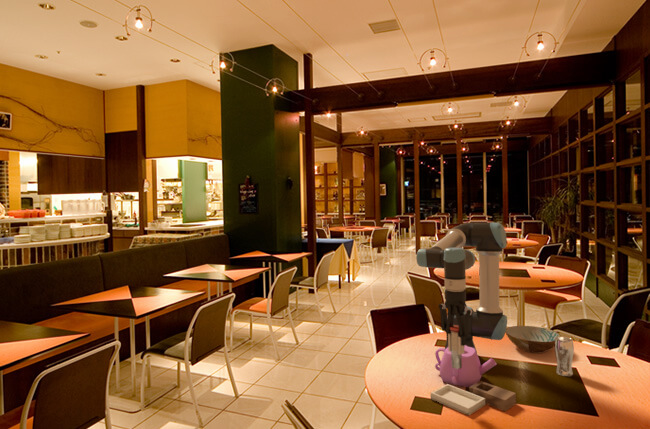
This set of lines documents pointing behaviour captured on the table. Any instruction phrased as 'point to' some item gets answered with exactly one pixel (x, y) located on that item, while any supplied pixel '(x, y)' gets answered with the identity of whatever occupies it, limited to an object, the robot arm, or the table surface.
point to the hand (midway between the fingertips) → (456, 351)
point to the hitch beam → (494, 395)
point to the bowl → (532, 338)
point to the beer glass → (564, 355)
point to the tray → (458, 399)
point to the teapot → (469, 369)
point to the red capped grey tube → (455, 347)
